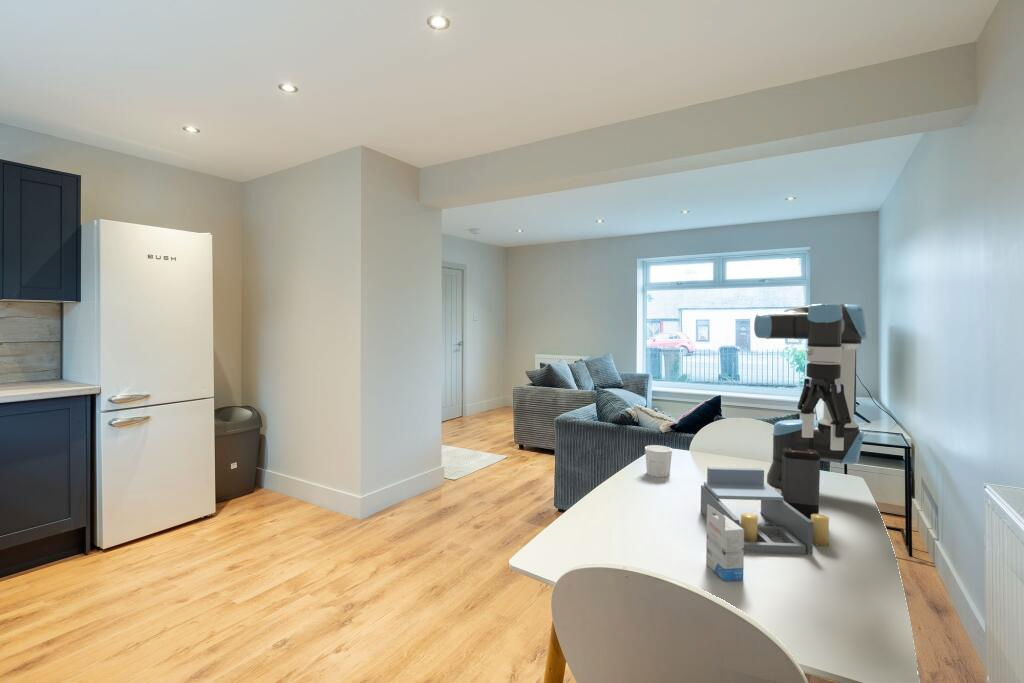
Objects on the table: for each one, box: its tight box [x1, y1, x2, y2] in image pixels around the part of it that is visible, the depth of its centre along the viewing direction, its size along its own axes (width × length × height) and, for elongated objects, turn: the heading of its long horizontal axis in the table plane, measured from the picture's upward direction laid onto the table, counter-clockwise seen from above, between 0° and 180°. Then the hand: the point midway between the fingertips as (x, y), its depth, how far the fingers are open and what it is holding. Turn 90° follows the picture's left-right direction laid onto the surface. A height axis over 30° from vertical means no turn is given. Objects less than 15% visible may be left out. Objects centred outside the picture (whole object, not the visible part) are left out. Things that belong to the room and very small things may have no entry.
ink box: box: [705, 504, 745, 582], centre depth 113 cm, size 9×5×15 cm, turn 5°
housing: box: [700, 484, 814, 555], centre depth 136 cm, size 19×27×8 cm
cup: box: [644, 444, 673, 478], centre depth 187 cm, size 10×10×10 cm
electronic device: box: [780, 448, 821, 520], centre depth 146 cm, size 9×6×20 cm, turn 71°
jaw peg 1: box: [740, 512, 759, 542], centre depth 129 cm, size 4×4×7 cm
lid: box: [703, 466, 784, 501], centre depth 142 cm, size 18×12×6 cm, turn 86°
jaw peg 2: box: [811, 513, 830, 547], centre depth 128 cm, size 4×4×7 cm
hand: (821, 443), depth 127 cm, fingers open, 13 cm apart
